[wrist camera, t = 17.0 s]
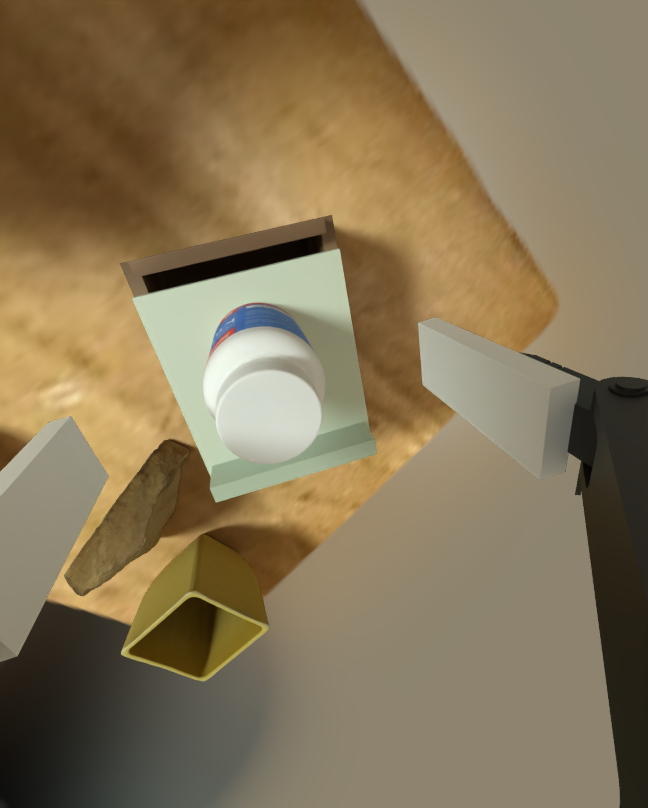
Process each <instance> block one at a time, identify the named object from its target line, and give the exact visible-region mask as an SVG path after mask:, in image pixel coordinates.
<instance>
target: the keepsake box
mask: <svg viewBox="0 0 648 808" xmlns="http://www.w3.org/2000/svg"><path fill="white" fill-rule="evenodd" d="M332 249H338V248H337V242H336V237H335V231H334V225H333V219H332V215H330V216H326V217H321V218H316V219H312V220H308V221H303V222H299V223H294V224H290V225H286V226H281V227H277V228H272V229H268V230H264V231H259V232H255V233H250V234H246V235H242V236H237V237H233V238H229V239H224V240H220V241H215V242H211V243H207V244H202V245H198V246H193V247H189V248H185V249H180V250H176V251H172V252H167V253H163V254H158V255H154V256H150V257H145V258H141V259H136V260H132V261H128V262H124V263H120V265H121V267H122V269H123V272H124V274H125V276H126V279H127V281H128V283H129V285H130V288H131V290H132V292H133V295H134V297H135V296H139V295H144V294H148V293H152V292H156V291H160V290H165V289H169V288H173V287H177V286H181V285H186V284H190V283H194V282H198V281H202V280H207V279H211V278H215V277H219V276H223V275H228V274H232V273H236V272H240V271H244V270H249V269H253V268H257V267H261V266H265V265H270V264H274V263H278V262H282V261H286V260H290V259H295V258H299V257H303V256H307V255H311V254H316V253H320V252H324V251H328V250H332Z"/></svg>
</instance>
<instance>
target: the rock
mask: <svg viewBox="0 0 648 808" xmlns="http://www.w3.org/2000/svg"><path fill="white" fill-rule="evenodd" d="M188 456H189V449H187V448H186V447H183V446H181V445H179V444H177V443H175V442H173V441H170V440H164V441H163V442H162V443H161V444H160V445H159V447H158V449H156V450H154V451H153V453H152V454H151V455H150V456H149V458H148V459H147V460H146V462H145V463H144V465H143V466H142V467H141V469H140V471H139V472H138V473H137V474H136V475H135V476H134V478H133V479H132V480H131V482H130V483H129V484H128V486H127V487H126V489H125V490H124V492H123V493H122V494H121V495H120V496H119V497H118V499H117V500H116V502H115V503H114V505H113V506H112V507H111V509H110V510H109V512H108V513H107V514H106V516H105V517H104V519H103V521H102V523H101V524H100V526H99V527H97V528H96V530H95V532H94V533H93V535H92V536H91V538H90V539H89V540H88V541H87V542H86V544H85V545H84V546H83V548H82V549H81V551H80V552H79V554H78V555H77V557H76V558H75V559H74V561H73V562H72V563H71V565H70V566H69V568H68V570H67V572H66V573H65V574H64V577H65V579H66V581H67V582H68V584H69V585H70V587H71V588H72V589H73V590H74V592H75V593H76V594H77V595H80V596H84V595H86V594H87V593H89V592H90V591H91V590H93V589H95V588H97V587H99V586H101V585H102V584H103V583H104V582H107V581H108V580H110V579H111V578H112V577H113V576H114V575H115V574H116V573H118V572H119V571H121V570H122V569H123V568H124V567H125V566H126V565H127V564H129V563H130V562H131V561H133V560H135V559H136V558H138V557H140V556H141V555H143V554H145V553H147V552H148V551H150V550H151V549H152V548H153V547H154V546H155V545H156V544H157V543H158V541H159V539H160V536H161V533H162V528H163V527H164V526H165V524H166V523H167V521H168V519H169V517H170V516H171V515H173V513H174V508H175V505H176V502H177V500H178V497H177V496H178V492H179V490H178V486H179V482H180V480H181V466H182V465H183V463H184V462H185V460H187V458H188Z"/></svg>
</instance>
